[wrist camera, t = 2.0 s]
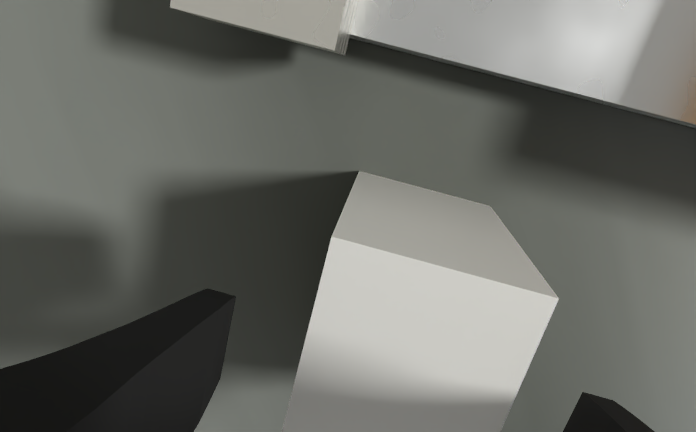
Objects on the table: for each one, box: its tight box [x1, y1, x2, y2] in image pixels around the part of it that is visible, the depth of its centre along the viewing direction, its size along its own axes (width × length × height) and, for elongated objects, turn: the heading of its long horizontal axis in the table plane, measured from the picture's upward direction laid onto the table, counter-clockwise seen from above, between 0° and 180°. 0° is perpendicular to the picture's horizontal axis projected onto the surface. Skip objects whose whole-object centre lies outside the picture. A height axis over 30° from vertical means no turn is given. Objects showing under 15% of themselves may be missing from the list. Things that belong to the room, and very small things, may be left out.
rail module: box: [282, 171, 559, 432], centre depth 12 cm, size 6×4×6 cm, turn 166°
